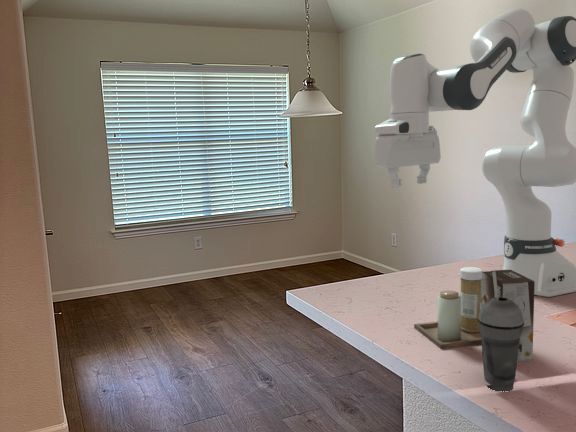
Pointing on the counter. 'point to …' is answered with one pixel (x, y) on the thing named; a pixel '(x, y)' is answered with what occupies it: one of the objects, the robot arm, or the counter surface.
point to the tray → (432, 334)
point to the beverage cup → (500, 340)
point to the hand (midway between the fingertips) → (409, 185)
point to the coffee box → (521, 295)
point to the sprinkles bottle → (470, 298)
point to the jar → (449, 316)
